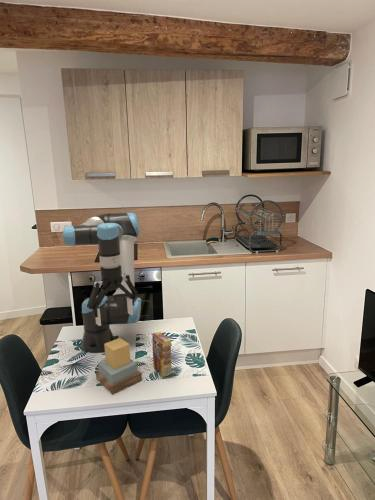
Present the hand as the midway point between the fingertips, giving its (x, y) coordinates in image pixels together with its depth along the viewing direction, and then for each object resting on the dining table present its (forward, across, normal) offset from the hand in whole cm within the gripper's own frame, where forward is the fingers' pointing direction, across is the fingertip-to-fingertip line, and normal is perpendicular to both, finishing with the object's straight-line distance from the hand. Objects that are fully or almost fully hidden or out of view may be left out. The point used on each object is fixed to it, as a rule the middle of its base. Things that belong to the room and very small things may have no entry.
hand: (115, 319), depth 135 cm
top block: (+22, -1, -1) cm, 22 cm away
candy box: (+26, +16, -7) cm, 31 cm away
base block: (+26, -1, -1) cm, 26 cm away
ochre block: (+18, 0, 0) cm, 18 cm away
